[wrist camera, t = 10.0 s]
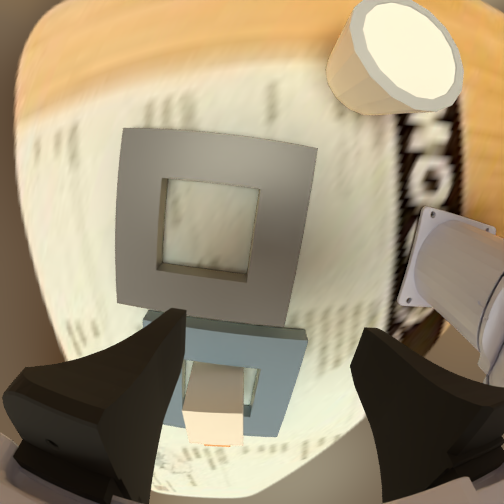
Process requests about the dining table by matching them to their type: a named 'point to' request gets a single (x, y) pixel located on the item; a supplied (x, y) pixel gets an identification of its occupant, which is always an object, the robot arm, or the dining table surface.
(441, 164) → the dining table surface
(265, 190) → the socket
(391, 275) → the dining table surface
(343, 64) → the cream tapered cup
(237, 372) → the plug
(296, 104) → the dining table surface
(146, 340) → the robot arm
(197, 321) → the socket
